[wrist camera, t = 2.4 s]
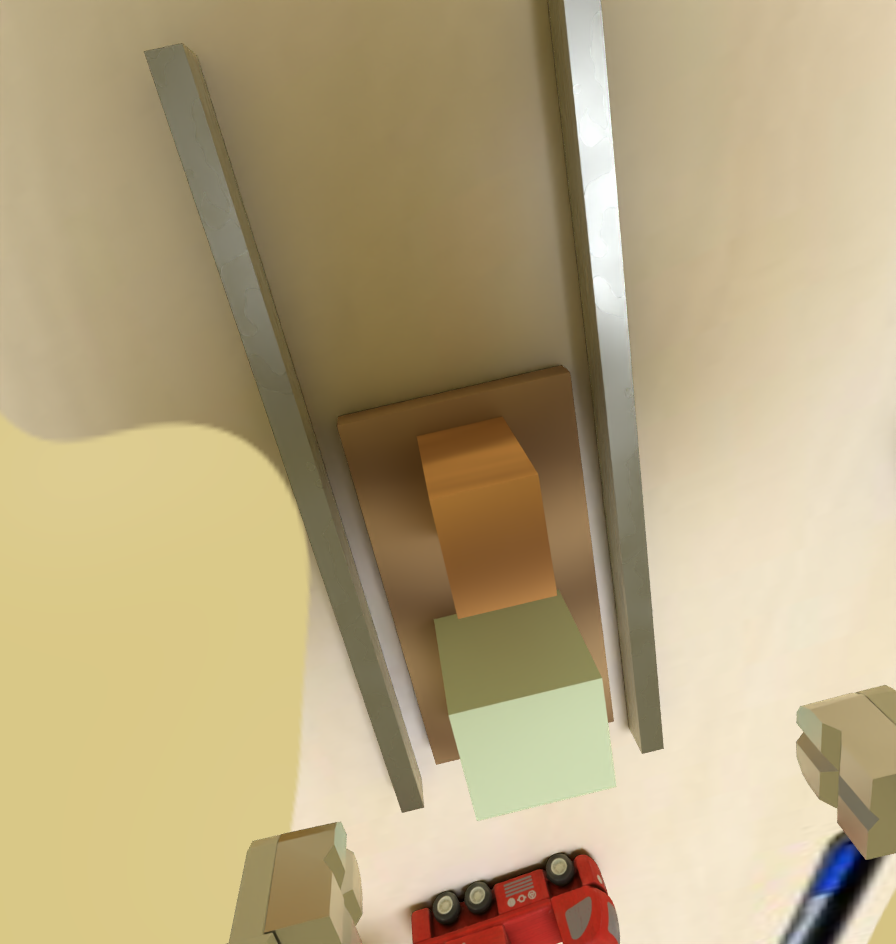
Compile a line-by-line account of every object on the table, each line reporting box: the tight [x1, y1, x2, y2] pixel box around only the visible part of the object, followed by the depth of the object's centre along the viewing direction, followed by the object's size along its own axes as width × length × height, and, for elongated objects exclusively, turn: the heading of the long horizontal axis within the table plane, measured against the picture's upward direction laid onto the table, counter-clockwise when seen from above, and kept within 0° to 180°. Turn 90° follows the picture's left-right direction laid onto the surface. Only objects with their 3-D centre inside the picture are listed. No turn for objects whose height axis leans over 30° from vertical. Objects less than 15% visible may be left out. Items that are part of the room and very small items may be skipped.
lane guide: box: [144, 0, 664, 813], centre depth 23 cm, size 29×12×2 cm, turn 12°
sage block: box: [434, 590, 616, 821], centre depth 23 cm, size 5×5×5 cm
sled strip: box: [337, 365, 614, 765], centre depth 22 cm, size 16×8×6 cm, turn 12°
